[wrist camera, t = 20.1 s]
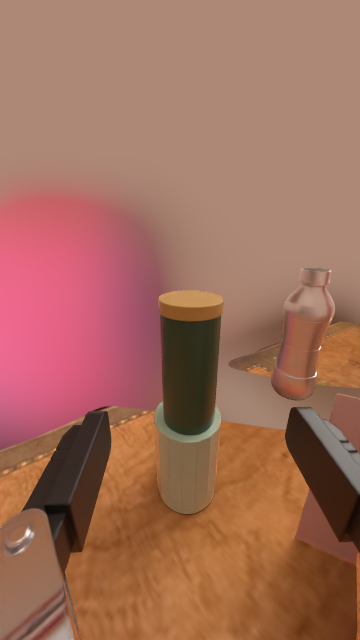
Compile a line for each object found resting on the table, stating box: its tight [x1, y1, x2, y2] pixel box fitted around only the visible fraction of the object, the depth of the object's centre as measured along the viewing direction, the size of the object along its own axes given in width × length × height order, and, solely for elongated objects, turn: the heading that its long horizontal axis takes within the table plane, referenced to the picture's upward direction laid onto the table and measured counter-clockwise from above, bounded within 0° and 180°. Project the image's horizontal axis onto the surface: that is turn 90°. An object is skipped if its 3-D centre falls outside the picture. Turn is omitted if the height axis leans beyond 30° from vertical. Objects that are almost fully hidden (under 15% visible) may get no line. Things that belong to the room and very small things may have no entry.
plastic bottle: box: [271, 268, 335, 400], centre depth 34 cm, size 6×7×20 cm
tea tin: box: [159, 290, 224, 435], centre depth 19 cm, size 5×5×11 cm
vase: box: [154, 401, 221, 514], centre depth 22 cm, size 6×6×9 cm
